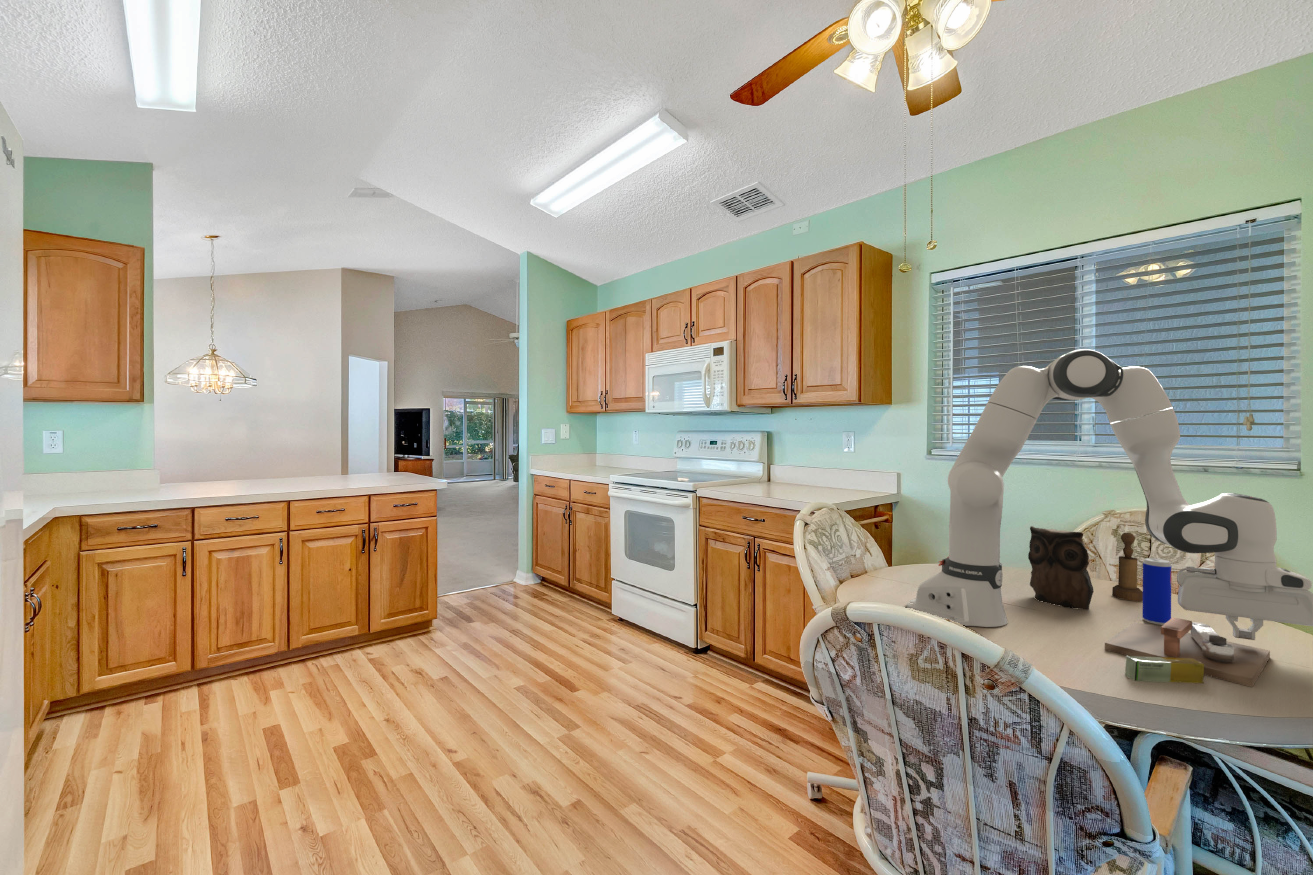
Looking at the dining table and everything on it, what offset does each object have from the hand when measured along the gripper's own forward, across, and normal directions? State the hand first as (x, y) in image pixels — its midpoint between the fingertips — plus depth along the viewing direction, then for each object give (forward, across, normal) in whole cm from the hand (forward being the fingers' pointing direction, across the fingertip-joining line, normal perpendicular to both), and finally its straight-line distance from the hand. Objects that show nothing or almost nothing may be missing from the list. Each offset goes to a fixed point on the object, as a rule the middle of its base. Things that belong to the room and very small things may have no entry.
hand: (1243, 638), depth 116 cm
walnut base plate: (+3, -10, -7) cm, 13 cm away
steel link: (+1, -6, -6) cm, 9 cm away
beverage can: (+3, -11, +15) cm, 19 cm away
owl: (+3, -29, +23) cm, 37 cm away
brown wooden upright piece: (+3, -14, +37) cm, 39 cm away
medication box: (+4, -16, -25) cm, 30 cm away
